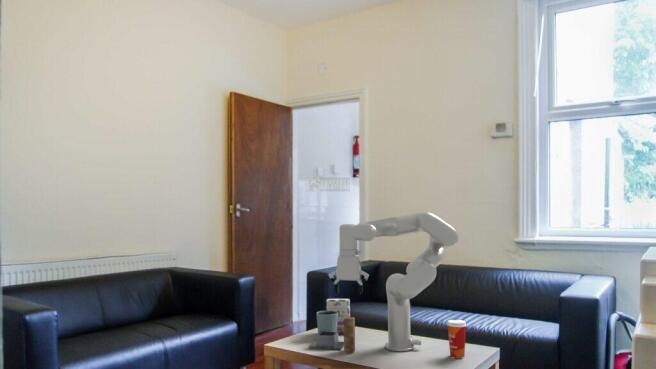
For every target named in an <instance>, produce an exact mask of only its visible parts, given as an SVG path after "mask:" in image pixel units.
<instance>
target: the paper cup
mask: <svg viewBox="0 0 656 369" xmlns="http://www.w3.org/2000/svg"><path fill="white" fill-rule="evenodd" d="M466 323H467V322H466V321H465V320H461V319H450V320H448V321H447V323H446V326H447V330H448V334H447V335H448V345H449V346H448V347H449V356H450V358H452V357H454V358H453V359H458V358H460V359H463V358H462V357H464V358H465V355H466V354H465V353H466V352H465V351H466V331H467V330H466V329H467V328H466V327H467V324H466Z"/></svg>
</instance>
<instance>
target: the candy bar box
mask: <svg viewBox="0 0 656 369" xmlns="http://www.w3.org/2000/svg"><path fill="white" fill-rule="evenodd" d="M350 302H351V299H350V298H327V299H326V300H325V308H326V309H325V311H336V312H338V321H337V322H338V323H337V332H338V336H340V335H342V336H344V318H345V317H351V306H350V304H351V303H350Z"/></svg>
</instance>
